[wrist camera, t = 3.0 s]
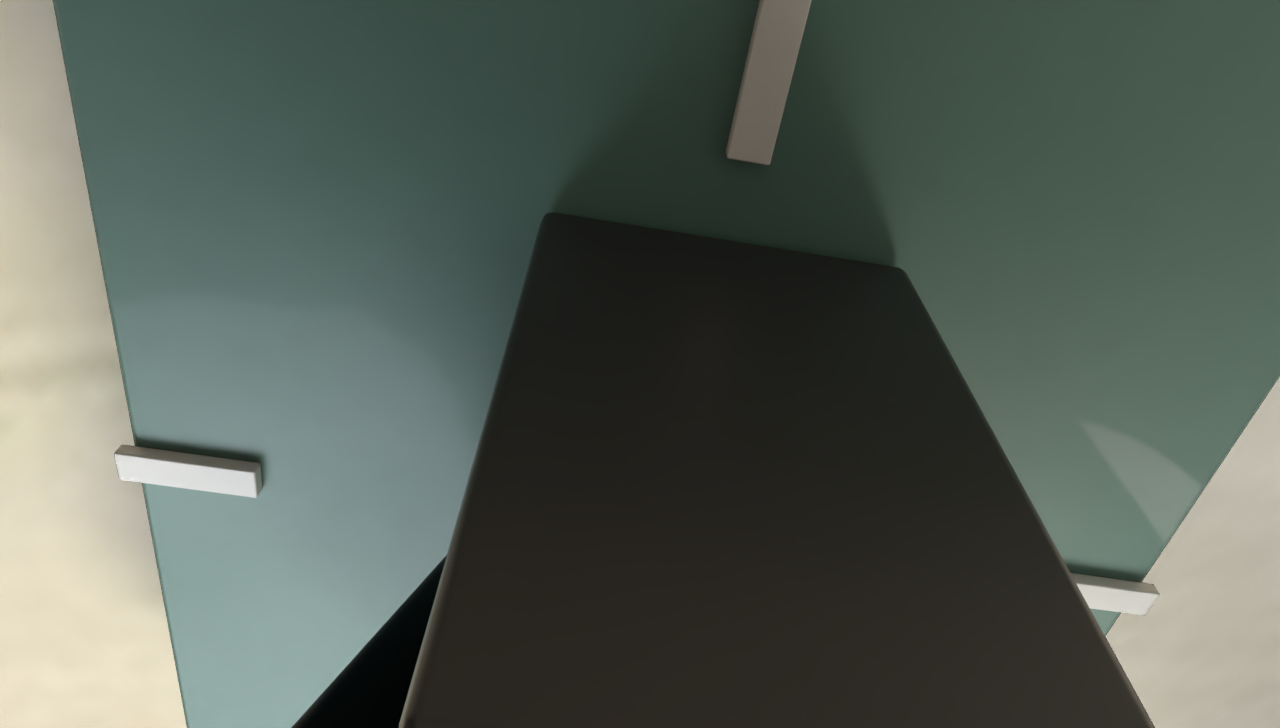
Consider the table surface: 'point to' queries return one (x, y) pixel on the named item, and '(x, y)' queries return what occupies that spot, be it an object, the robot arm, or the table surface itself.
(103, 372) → the table surface
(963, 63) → the green flat block
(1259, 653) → the table surface
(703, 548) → the block
